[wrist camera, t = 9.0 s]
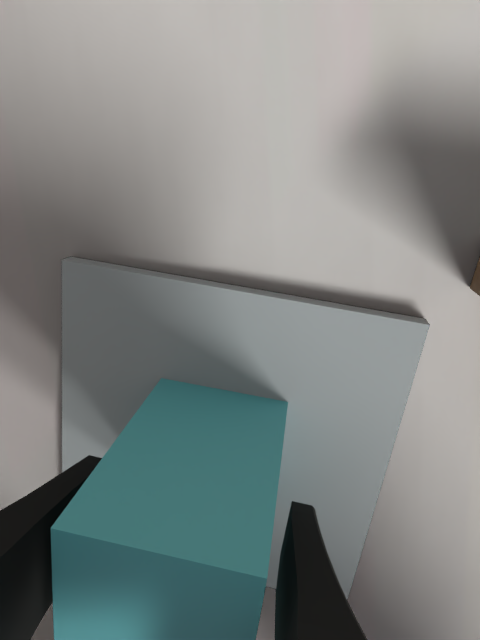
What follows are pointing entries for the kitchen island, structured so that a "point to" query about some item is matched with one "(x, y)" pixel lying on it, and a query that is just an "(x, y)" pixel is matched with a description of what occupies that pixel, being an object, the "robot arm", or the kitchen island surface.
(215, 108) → the kitchen island surface
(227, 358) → the grey mat
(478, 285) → the walnut screen
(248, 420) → the teal block
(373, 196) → the kitchen island surface
